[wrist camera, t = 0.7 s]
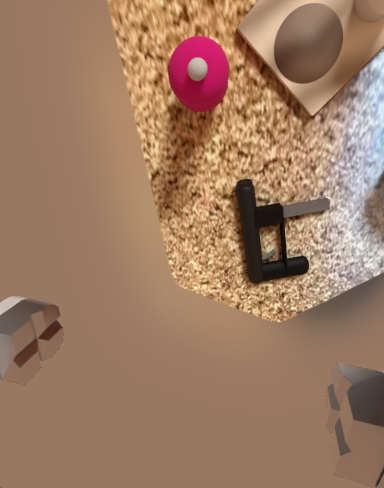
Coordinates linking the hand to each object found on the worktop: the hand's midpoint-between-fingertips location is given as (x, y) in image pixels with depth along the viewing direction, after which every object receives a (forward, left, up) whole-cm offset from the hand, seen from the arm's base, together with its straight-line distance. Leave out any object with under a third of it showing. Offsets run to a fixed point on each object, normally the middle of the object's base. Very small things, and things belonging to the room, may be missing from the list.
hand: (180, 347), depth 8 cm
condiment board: (0, +24, -43) cm, 49 cm away
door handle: (+20, 0, -43) cm, 48 cm away
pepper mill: (-7, +7, -43) cm, 44 cm away
